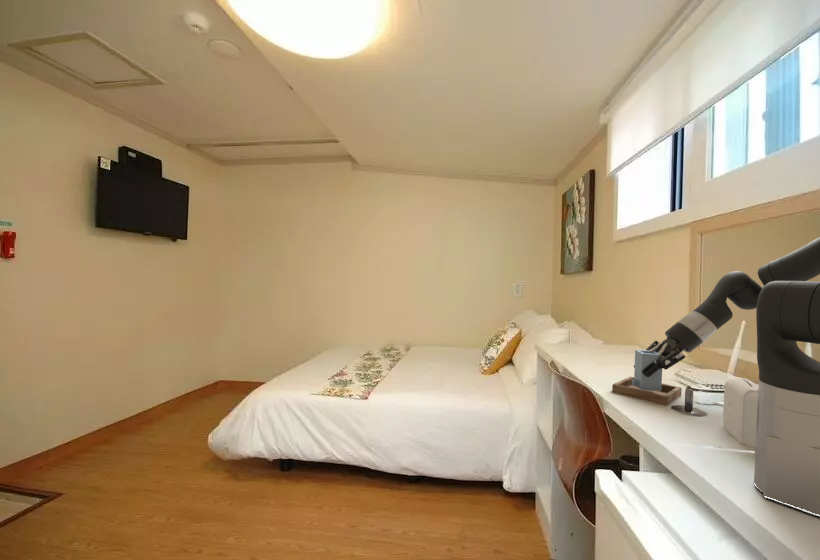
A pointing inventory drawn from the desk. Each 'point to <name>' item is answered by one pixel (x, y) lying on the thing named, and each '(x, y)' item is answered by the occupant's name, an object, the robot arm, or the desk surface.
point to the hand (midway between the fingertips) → (640, 371)
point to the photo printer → (741, 409)
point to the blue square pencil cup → (640, 379)
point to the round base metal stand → (688, 406)
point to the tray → (647, 392)
